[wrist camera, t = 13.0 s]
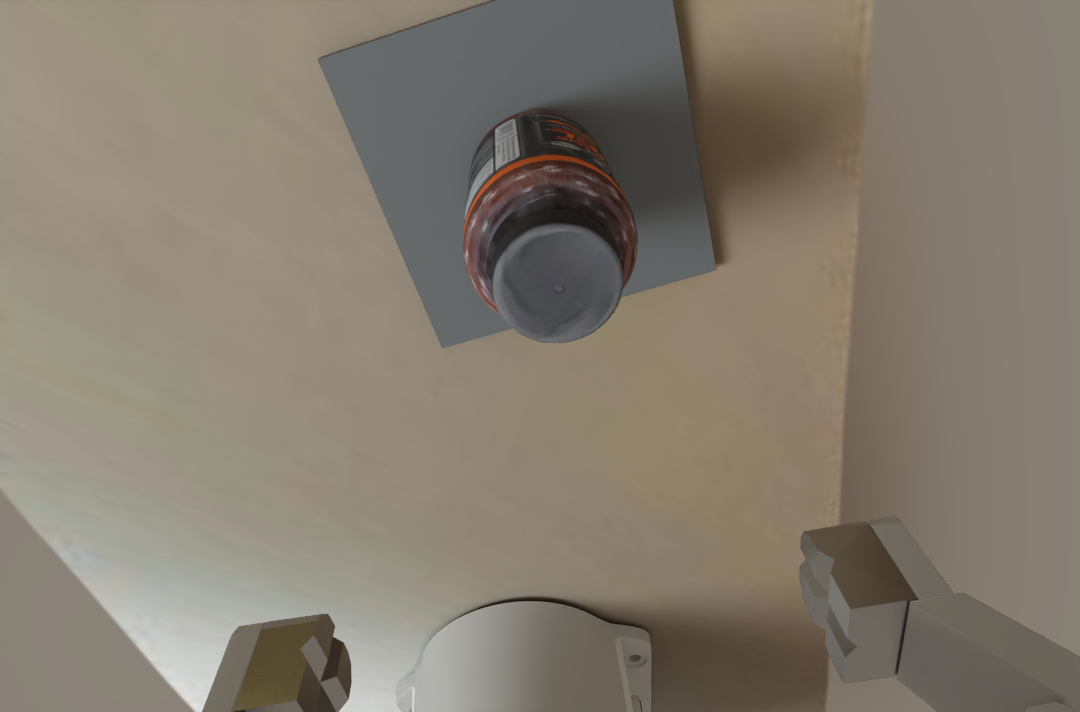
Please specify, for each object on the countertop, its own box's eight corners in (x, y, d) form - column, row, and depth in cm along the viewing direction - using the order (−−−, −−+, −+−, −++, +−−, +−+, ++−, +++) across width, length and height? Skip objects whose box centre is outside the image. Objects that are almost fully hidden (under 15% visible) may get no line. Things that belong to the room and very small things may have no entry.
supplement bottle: (631, 158, 30) (701, 265, 20) (551, 263, 32) (579, 403, 23) (519, 75, 28) (537, 150, 18) (442, 193, 30) (422, 315, 20)
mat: (712, 264, 33) (716, 269, 33) (442, 342, 35) (442, 348, 34) (660, -56, 26) (663, -56, 26) (320, 57, 27) (317, 59, 27)
